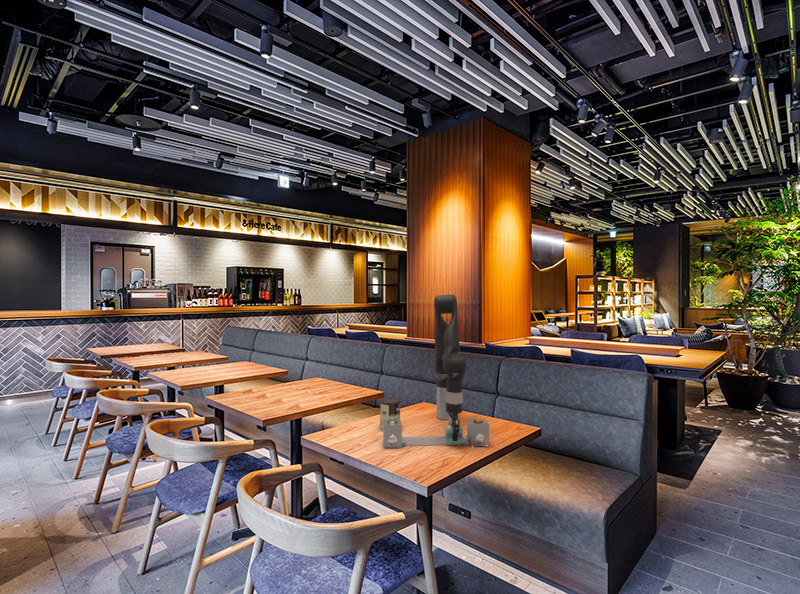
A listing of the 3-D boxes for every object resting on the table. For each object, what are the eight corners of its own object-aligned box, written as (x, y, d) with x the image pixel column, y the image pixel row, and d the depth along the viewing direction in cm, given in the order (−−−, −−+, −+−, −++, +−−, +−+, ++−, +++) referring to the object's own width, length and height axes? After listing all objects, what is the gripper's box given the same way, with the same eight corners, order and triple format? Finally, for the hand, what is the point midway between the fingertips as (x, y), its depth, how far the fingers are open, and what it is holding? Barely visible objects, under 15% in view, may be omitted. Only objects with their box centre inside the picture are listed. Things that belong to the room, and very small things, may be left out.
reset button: (474, 424, 190) (474, 415, 190) (480, 424, 191) (480, 415, 191) (475, 426, 188) (475, 417, 188) (481, 426, 188) (481, 416, 188)
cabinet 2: (467, 440, 193) (467, 419, 193) (483, 440, 193) (484, 418, 193) (471, 447, 184) (471, 424, 184) (489, 447, 185) (489, 424, 185)
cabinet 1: (382, 441, 190) (383, 418, 190) (400, 441, 191) (400, 418, 191) (383, 448, 181) (383, 424, 181) (401, 448, 182) (402, 424, 182)
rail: (400, 442, 190) (400, 435, 190) (465, 441, 192) (465, 434, 192) (401, 446, 184) (401, 440, 184) (468, 446, 186) (468, 439, 186)
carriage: (444, 439, 191) (445, 425, 191) (459, 438, 191) (460, 424, 191) (447, 443, 185) (447, 428, 185) (462, 443, 186) (462, 428, 186)
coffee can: (401, 425, 214) (401, 398, 214) (398, 432, 203) (398, 403, 203) (381, 424, 215) (382, 397, 215) (377, 430, 205) (377, 402, 205)
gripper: (443, 397, 195) (442, 433, 195) (448, 405, 181) (448, 444, 181) (459, 397, 196) (458, 433, 196) (465, 405, 181) (465, 444, 181)
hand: (453, 438), depth 188 cm, fingers closed on carriage, 5 cm apart
